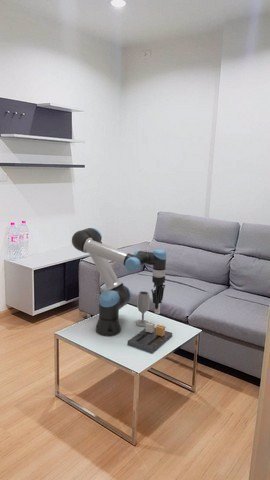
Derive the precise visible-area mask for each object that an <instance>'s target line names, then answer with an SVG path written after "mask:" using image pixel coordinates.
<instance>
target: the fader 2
mask: <svg viewBox="0 0 270 480" xmlns="http://www.w3.org/2000/svg"><path fill="white" fill-rule="evenodd" d="M155 328H156V335H159V336H164V335H165V331H166V326H164V325H161V324H157V325H156V327H155Z"/></svg>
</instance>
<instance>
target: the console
mask: <svg viewBox="0 0 270 480" xmlns="http://www.w3.org/2000/svg"><path fill="white" fill-rule="evenodd" d="M172 337H173V332H172V331H171V332H170V331H168V330H165V335H164V336H159V335H156V327H154V332H153V333H150V332H147V331H145V328H143V330H141V331H140V332H138V333H136V334H135V335H134V336H132V337H131V338H130V339H129V340H127V346H130V347H131V348H136V349H139V350H140V351H144V352H146V353H149V354H154V353H155V352H156V351H157V350H159V349H160V348H161V347H163V345H164V344H165V343H167V342H168V341H169V340H170V339H171V338H172Z"/></svg>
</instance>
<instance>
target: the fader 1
mask: <svg viewBox="0 0 270 480" xmlns="http://www.w3.org/2000/svg"><path fill="white" fill-rule="evenodd" d="M155 324H156V323H155V322H151V321H148V322H147V323H146V327H145V328H144V329H145V331H147V332H150V333H153V332H154V327H155ZM155 328H156V327H155Z"/></svg>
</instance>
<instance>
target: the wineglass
mask: <svg viewBox="0 0 270 480" xmlns="http://www.w3.org/2000/svg"><path fill="white" fill-rule="evenodd" d="M150 299H151V298H150V293H149V292H148V291H146V290H143V291H142V290H141V291H139V292H138V295H137V301H136V306H137V310H138V311H139V312H140V313H141V319H139V320H137V321H135V324H136V326H139V327H142V328H143V327H146V323H147V322H149V320H146V319H145V313H147V312H148V311H149V309H150V306H151V300H150Z"/></svg>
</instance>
